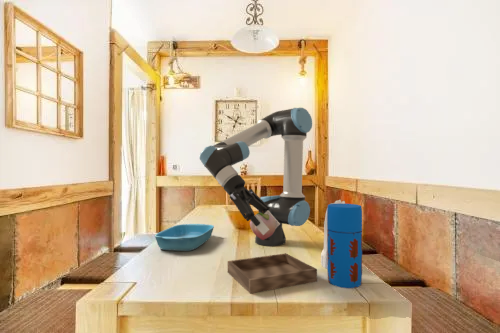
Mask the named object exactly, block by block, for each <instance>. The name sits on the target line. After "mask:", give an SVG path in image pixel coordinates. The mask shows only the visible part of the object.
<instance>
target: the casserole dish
mask: <svg viewBox="0 0 500 333" xmlns="http://www.w3.org/2000/svg"><path fill="white" fill-rule="evenodd" d="M214 228H215V227H214V225H213V224H205V223H183V224H175V225H173V226H171V227H168V228H165V229H163V230H162V231H160V232H157V233H156V234H155V235H154V237H155V240H156V244H157V245H158V247H159V249H161V250H163V251H177V252H180V251H181V252H190V251H194V250H196V249H198V248H199V247H201V246H202V245H203V244H204V243H206V242H207V241H208V240H209V239H210V238H211V236H212V234H213V232H214Z"/></svg>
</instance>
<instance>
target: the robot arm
mask: <svg viewBox="0 0 500 333" xmlns="http://www.w3.org/2000/svg"><path fill="white" fill-rule="evenodd" d="M312 128H313V120H312V116H311V114H310V113H309V111H308V110H307V109H306V108H304V107H293V108H288V109H283V110H278V111H275V112H272V113H270V114H269V115H266V116H265V117H262V118H261V119H259V120H258V121H257V122H256V124H254V125H252V126H250V127H248V128H246V129H244V130H242V131H240V132H238V133H236V134H233V135H232V136H229V137H227V138H226V139H224V140H222V141H220V142H218V143H215V144H214V145H208V146H205V147H204V148H203V149H202V151H201V152H200V154H199V160H200V161H201V162H200V163H202V165H204V168H206V170H207V171H208V172H209V173H210V174H211V176H213V178H214V179H215V180H216V181H217V182H218V183H217V184H219V185H220V186H221V187H222V188H223V190H224V191H225V192H226V193H227V196H229V199H230V200H231V201H232V202H233V204H234V205H235V207H236V208H237V209H238V211H239V213H240V214H241V216H242V217H243V219H244V220H245V221H247V222H249V221H252V222H253V224H254V225H255V226H256V227H257V228H258V230H259V231H260V232H261V233H262V234H263V235H264V234H265V233H266V232H267V231H268V230H269V228H268V227H267V226H266V225H265V224H264V222H263V221H262V220H261V219H260V218H259V217H258V215H257V213H256V214H255V212H254V210H253V207H254V208H255V209H256V210H257V211H258V213H262V211H263V213H264V214H268V215H271V216H272V217H273V218H274V219H275V221H276V229H275V231H274V233H273V234H272V235H271V236H270V237H268V238H266V239H264V240H262V239H260V238H259V237H257V236H256V235H255V238H254V239H255V240H254V242H255V244H257V245H260V246H266V247H267V246H269V247H273V246H274V247H276V246H282V245H285V244H286V243H287V238H286V235H285V231H284V227H283V225H289V226H291V227H292V226H293V227H299V226H303V225H305V224H306V222H307V221H308V219H309V217H310V212H311V208H310V204H309V202H307V201H306V195H304V194H303V162H304V160H303V159H304V155H303V154H304V152H303V151H304V141H305V140H306V139H307V135H308V134H307V133H309V132H310V131H311V130H312ZM275 136H281V138H282V139H283V141H284V147H283V148H284V149H283V150H284V151H283V157H284V159H283V182H282V184H283V186H282V187H283V188H282V190H283V191H282V192H281V193H280V194H279V195H270V196H269V195H267V196H260V197H259V195H257V193H255V191H254V190H253V189H252V188H250V189H247V188H246V187H245V185H246V181H245V180H244V178H243V177H242V176H241V175H240V174H239V172H238V171H237V170H236V169H235V168H234V165H236V164H238V163H241V162H243V161H244V160H246V159H248V158H249V156H250V154H251V153H250V148H249V147H250V146H252V145H253V144H256V143H257V142H259V141H261V140H263V139H269V138H271V137H275Z"/></svg>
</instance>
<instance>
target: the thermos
mask: <svg viewBox="0 0 500 333" xmlns="http://www.w3.org/2000/svg"><path fill="white" fill-rule="evenodd" d="M327 208H328V209H327ZM327 208H326V211H327V228H328V229H327V268H326V269H327V282H328V283H329V284H330V285H333V286H335V287H338V288H344V289H354V288H358V287H360V286H362V279H363V278H362V277H363V209H362V205H359V204H354V203H345V204H331V203H330V204H327Z"/></svg>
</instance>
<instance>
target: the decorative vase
mask: <svg viewBox="0 0 500 333" xmlns="http://www.w3.org/2000/svg"><path fill="white" fill-rule="evenodd" d="M330 204H346V202H345V200H343V201H341V199H339V200H337V199H336V200H335V201H334V202H333V203H332V202H331V203H330ZM327 209H328V207H327V208H326V211H325V215H324V216H325V217H324V222H323V249H322V251H321V253H320V265H321V267H323V268H324V269H327V229H328V228H327Z"/></svg>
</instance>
